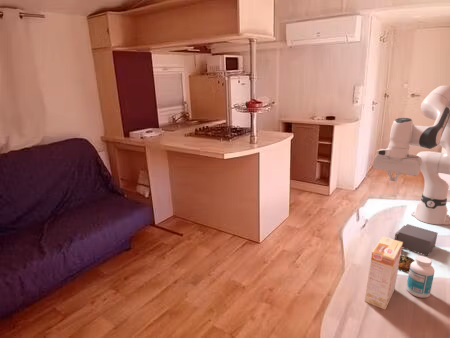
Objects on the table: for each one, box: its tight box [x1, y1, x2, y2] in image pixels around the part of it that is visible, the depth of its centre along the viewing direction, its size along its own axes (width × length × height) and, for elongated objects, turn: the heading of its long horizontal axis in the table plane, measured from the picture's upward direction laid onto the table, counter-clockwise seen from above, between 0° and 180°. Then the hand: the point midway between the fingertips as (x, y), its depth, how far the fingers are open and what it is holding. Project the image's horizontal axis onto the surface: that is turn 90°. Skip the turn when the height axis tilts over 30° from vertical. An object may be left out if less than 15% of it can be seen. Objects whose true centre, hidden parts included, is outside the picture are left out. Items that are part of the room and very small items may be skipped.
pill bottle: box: [406, 255, 435, 299], centre depth 112 cm, size 8×7×14 cm
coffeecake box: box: [364, 236, 403, 310], centre depth 109 cm, size 15×7×20 cm, turn 141°
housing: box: [397, 223, 439, 257], centre depth 147 cm, size 13×13×7 cm
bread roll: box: [398, 254, 415, 273], centre depth 131 cm, size 11×11×5 cm
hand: (393, 180), depth 150 cm, fingers closed
